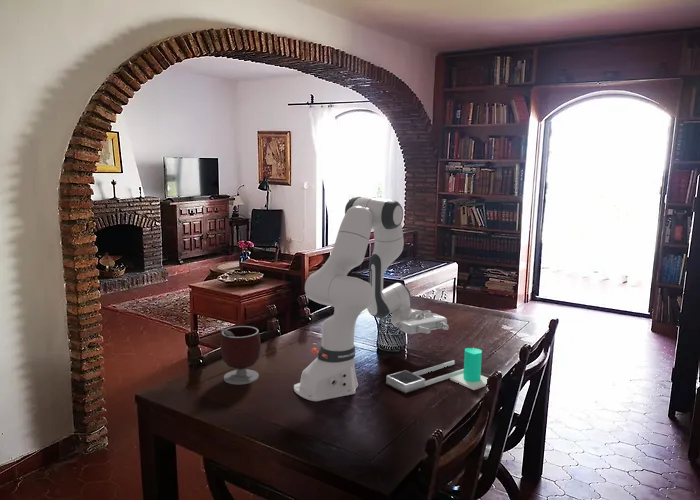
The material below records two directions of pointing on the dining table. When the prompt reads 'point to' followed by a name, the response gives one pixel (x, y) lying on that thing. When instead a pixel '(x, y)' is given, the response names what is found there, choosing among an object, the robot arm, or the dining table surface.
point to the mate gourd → (240, 353)
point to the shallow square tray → (405, 381)
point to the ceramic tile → (469, 384)
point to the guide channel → (439, 376)
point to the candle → (472, 364)
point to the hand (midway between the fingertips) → (438, 329)
